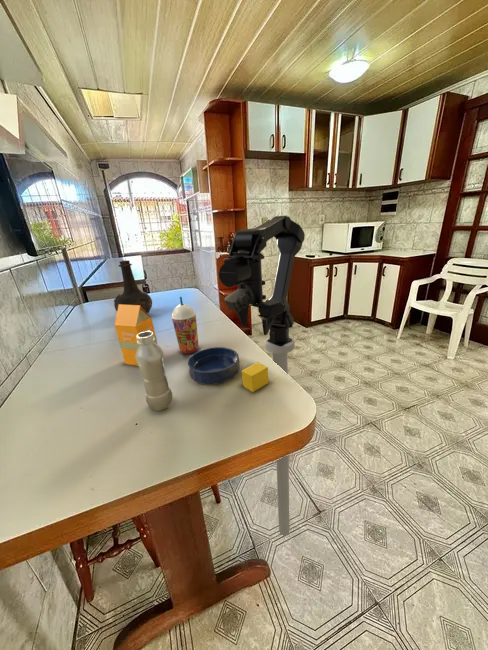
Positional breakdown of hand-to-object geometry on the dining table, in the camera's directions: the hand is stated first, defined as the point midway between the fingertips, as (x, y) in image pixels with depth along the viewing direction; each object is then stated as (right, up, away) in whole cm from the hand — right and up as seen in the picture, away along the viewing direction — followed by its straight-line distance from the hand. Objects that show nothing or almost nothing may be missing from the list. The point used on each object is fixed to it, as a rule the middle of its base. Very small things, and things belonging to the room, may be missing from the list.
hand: (254, 330), depth 79 cm
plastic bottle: (-24, -19, -10) cm, 33 cm away
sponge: (0, -15, -5) cm, 16 cm away
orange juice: (-38, -11, +14) cm, 42 cm away
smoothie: (-23, -8, +18) cm, 30 cm away
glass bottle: (-59, +6, +59) cm, 83 cm away
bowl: (-12, -13, +3) cm, 18 cm away
